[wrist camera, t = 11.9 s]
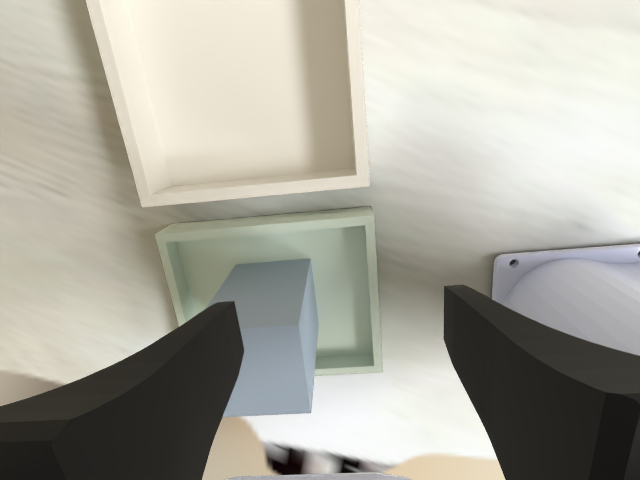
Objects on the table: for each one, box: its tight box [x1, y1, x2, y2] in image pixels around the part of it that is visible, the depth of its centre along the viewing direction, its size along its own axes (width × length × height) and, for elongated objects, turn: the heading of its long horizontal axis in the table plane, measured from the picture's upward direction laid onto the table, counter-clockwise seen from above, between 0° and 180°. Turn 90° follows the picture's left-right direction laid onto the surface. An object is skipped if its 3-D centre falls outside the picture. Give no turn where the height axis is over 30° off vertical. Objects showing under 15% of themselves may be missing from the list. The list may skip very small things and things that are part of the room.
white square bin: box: [85, 0, 370, 208], centre depth 17 cm, size 12×12×3 cm
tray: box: [154, 206, 383, 376], centre depth 21 cm, size 12×10×2 cm
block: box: [206, 259, 319, 417], centre depth 18 cm, size 4×4×7 cm
